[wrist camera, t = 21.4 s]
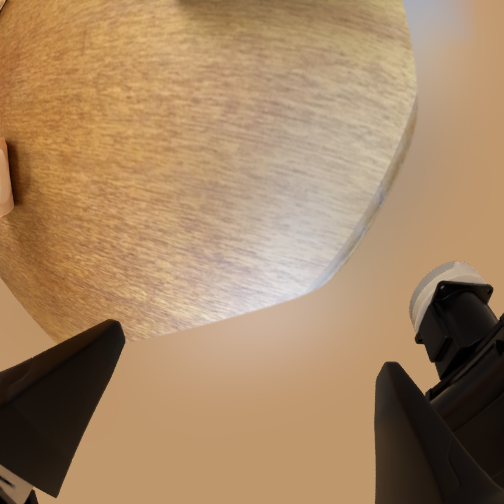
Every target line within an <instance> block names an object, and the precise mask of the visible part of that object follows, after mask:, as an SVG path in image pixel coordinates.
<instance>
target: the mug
mask: <svg viewBox="0 0 504 504" xmlns="http://www.w3.org/2000/svg"><path fill="white" fill-rule="evenodd" d="M14 208H15V206H14V201H13V195H12V188H11V181H10V173H9V163H8V151H7V145H6V142H5V137H3V136H2V137H0V218H1V217H3V216H4V215H6V214H8V213H9V212H11V211H12V210H13V209H14Z"/></svg>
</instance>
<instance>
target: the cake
mask: <svg viewBox="0 0 504 504" xmlns="http://www.w3.org/2000/svg"><path fill="white" fill-rule="evenodd" d="M5 1H6V0H0V10H1V8H2V7H3V5H4V3H5Z"/></svg>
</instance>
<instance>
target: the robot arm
mask: <svg viewBox="0 0 504 504" xmlns="http://www.w3.org/2000/svg"><path fill="white" fill-rule="evenodd" d="M442 286H444V287H443V288H441V287H442ZM488 290H489V291H488ZM492 293H493V287H492V286H491V285H488V284H478V283H467V282H456V281H446V280H442V281H440V282H439V283H438V284H437V286H436V289H435V292H434V294H433V297H432V299H431V302H430V304H429V305H428V307H427V310H426V312H425V314H424V317H423V319H422V321H421V324H420V326H419V330H418V332H417V334H416V337H415V341H416V343H417V344H424V345H425V347H426V351H427V353H428V356H429V359H430V361H431V362H433V363H435V366H436V369H437V372H438V375H439V378H440V380H441V381H440V382H439V383H438V384H437V385H435V386H434V387H433V388H430V389H429V390H428V391H427V392H426V393H425V396H424V394H423V393H422V392H421V390H420V389H419V388H418V387H417V385H416V384H415V383H414V382H413V380H412V379H411V378H410V377H409V375H408V374H407V373H406V372H405V370H404V369H403V368H402V367H401V366H400V365H399V363H397V362H385V363H384V365H383V367H382V369H381V371H380V373H379V375H378V376H377V379H376V391H375V417H374V419H375V420H374V430H375V451H376V452H375V454H376V493H375V495H376V496H375V504H504V313H503V314H502V316H501V317H500V320H499V321H498V319H497V318H496V316H495V315H494V313H493V312H492V310H491V309H490V307H489V306H488V302H489V299H490V297H491V295H492ZM420 338H421V339H420ZM124 344H125V335H124V333H123V330H122V327H121V324H120V322H119V321H116V320H113V319H108V320H106V321H104V322H102V323H100V324H98V325H96V326H94V327H92V328H90V329H88V330H86V331H84V332H82V333H80V334H78V335H76V336H74V337H72V338H70V339H68V340H66V341H64V342H62V343H60V344H58V345H56V346H54V347H52V348H50V349H48V350H46V351H44V352H42V353H40V354H38V355H36V356H34V357H33V358H30V359H28V360H26V361H24V362H22V363H20V364H18V365H16V366H14V367H11V368H9V369H6V370H4V371H1V372H0V504H38V501H37V497H36V494H35V491H34V490H33V489H32V488H33V487H34V486H35V487H36V488H38V489H40V490H41V491H43V492H45V493H47V494H49V495H51V496H53V497H55V498H57V496H58V494H59V491H60V489H61V486H62V483H63V481H64V478H65V476H66V474H67V471H68V469H69V466H70V464H71V461H72V459H73V457H74V454H75V452H76V449H77V447H78V445H79V443H80V441H81V438H82V436H83V434H84V432H85V430H86V428H87V425H88V423H89V421H90V419H91V417H92V415H93V413H94V411H95V409H96V407H97V405H98V403H99V401H100V398H101V397H102V394H103V393H104V391H105V389H106V387H107V385H108V383H109V381H110V379H111V377H112V374H113V372H114V369H115V367H116V364H117V362H118V359H119V356H120V354H121V351H122V349H123V347H124Z"/></svg>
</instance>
